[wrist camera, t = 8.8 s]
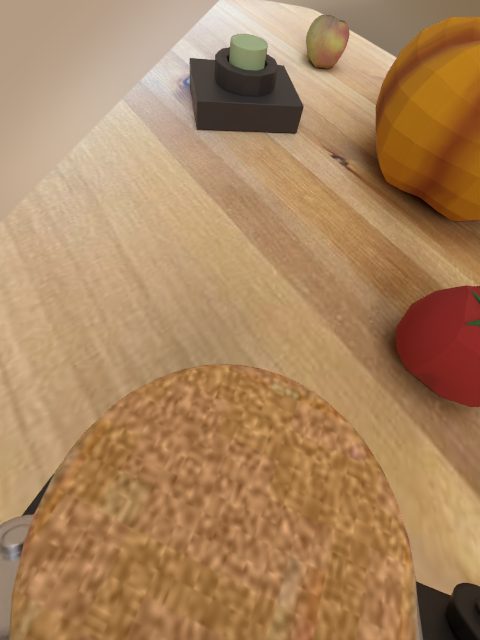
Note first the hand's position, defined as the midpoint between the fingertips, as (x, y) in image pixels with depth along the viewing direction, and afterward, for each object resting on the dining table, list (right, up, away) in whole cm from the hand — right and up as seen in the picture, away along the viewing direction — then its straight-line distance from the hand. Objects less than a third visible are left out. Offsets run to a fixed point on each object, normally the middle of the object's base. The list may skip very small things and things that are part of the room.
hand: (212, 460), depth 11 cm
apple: (+14, +44, +38) cm, 60 cm away
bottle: (-1, -6, +6) cm, 8 cm away
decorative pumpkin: (+24, +21, +25) cm, 41 cm away
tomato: (+15, +2, +13) cm, 20 cm away
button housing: (+1, +31, +28) cm, 42 cm away
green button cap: (+2, +34, +24) cm, 41 cm away
